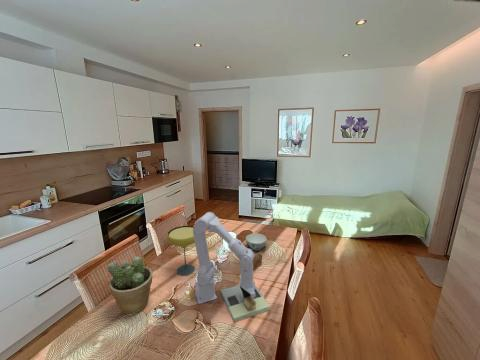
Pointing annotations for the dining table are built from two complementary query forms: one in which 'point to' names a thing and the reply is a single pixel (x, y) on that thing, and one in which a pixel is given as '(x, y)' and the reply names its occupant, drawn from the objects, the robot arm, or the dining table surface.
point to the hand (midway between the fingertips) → (246, 300)
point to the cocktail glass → (182, 245)
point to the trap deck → (242, 303)
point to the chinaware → (256, 241)
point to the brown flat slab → (257, 260)
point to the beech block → (249, 303)
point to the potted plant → (130, 285)
